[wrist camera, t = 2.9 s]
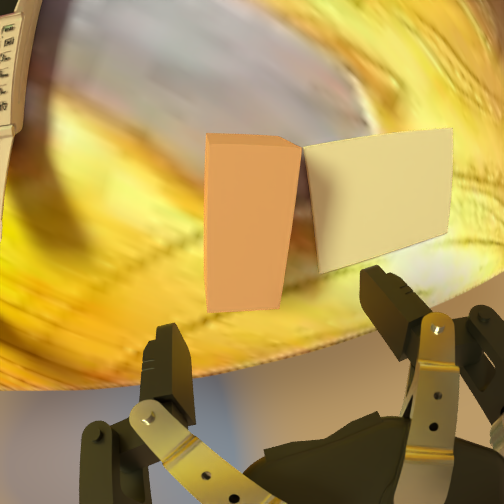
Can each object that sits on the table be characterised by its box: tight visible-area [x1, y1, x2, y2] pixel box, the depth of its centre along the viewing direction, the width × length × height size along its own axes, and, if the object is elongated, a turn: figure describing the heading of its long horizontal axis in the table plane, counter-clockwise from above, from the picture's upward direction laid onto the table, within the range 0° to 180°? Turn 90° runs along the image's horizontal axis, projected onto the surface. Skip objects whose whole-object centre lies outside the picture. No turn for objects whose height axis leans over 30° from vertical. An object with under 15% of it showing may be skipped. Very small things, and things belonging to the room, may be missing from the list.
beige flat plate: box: [303, 127, 453, 274], centre depth 23 cm, size 11×15×1 cm
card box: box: [204, 133, 302, 313], centre depth 20 cm, size 11×5×5 cm, turn 176°
